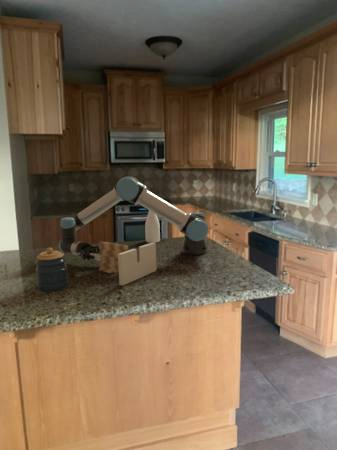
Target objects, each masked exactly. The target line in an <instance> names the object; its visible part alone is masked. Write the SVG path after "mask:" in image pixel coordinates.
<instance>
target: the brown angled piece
mask: <svg viewBox="0 0 337 450" xmlns="http://www.w3.org/2000/svg"><path fill="white" fill-rule="evenodd" d="M98 245H99V251H100V252H99V255H100V256H101V261H99V264H100V266H99V267H98V271H99V272H105V273H108V274H112V273H115V274H116V273H119V265H118V254H119V253H122V252H125V251H128V250H129V246H128V245H126V244H120V243H115V242H114V243H113V242H108V241H104V240H103V241H99V242H98Z"/></svg>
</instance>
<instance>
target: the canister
mask: <svg viewBox="0 0 337 450" xmlns="http://www.w3.org/2000/svg"><path fill="white" fill-rule="evenodd" d="M66 261H67V258H66V257H65V253H64V252H62V251H60V250H55V249H53V247H47V249H46V251H42V252H40V253H38V254H37V255H36V260H35V261H34V264H35V266H36V268H35V273H36V274H35V275H36V286H37V289H38V290H39V291H41V292H45V293H48V292H57V291H61V290H64V289H65V288H67V287H68V286H69V279H68V265H67V263H66Z"/></svg>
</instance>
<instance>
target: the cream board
mask: <svg viewBox="0 0 337 450" xmlns="http://www.w3.org/2000/svg"><path fill="white" fill-rule="evenodd" d="M156 243H157V242H156ZM156 243H153V242H152V243H146V244H144V245H140V246H138V250H137V248H131V249H128V251H125V252H122V253H119V254H118V267H119V272H118V281H119V285H120V286H126V285H127V284H129V283H130V284H131V282H134V281H136V280H139V279H141V278H143V277H145V276H148V275H149V274H150V275H151V274H152V273H154V272H156V271H157V247H156V246H157V245H156ZM137 251H138V252H137ZM138 253H139V255H138ZM138 256H139V261H138Z"/></svg>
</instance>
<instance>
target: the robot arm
mask: <svg viewBox="0 0 337 450" xmlns="http://www.w3.org/2000/svg"><path fill="white" fill-rule="evenodd" d="M121 201H122V202H124V201H128V202H129V203H131V204H132V205H135V206H137V205H140V206H142V207H143V208H145V209H146V210H148V211H149V210H150V211H152V212H153V213H155V214H156V215H157V217H160V218H162V219H163V220H165V221H167V222H168V223H170V224H172V225H174V226H176V227H177V228H178V231H179V232H180V233H181V234H183V235H184V239H183V243H182V245H181V253H183V254H185V255H190V256H191V255H193V256H197V255H203V254H206V253H207V252H208V246H207V243H206V237H207V235H208V233H209V227H208V224H207V222H206V221H205V213H204V212H184V211H183V210H181V209H180V208H178V207H177V206H175V205H173V204H171V203H170V202H168V201H167V200H165V199H163V198H162V197H159V196H158V195H156V194H155V193H153V192H151V191H150V190H149V189H148V188H147V185H145V184H143V182H140V181H139V179H138V178H136V177H135V176H132V175H128V176H127V175H126V176H124V177H122V178H120V179H118V181H117V184H115V186H113V189H112V190H110V191H108V193H106V194H104V195H103V196H102V197H100V198H99V199H97V200H96V201H94V202H93V203H91V204H90V205H89V206H87V207H86V208H84V209H82V210H81V211H80V212H78V213H77V214H75V215H74V216H72V217H71V216H70V217H62V218H61V219H60V233H61V234H60V235H61V239H60V240H59V241H58V245H57V247H58V251H60V252H62V253H64V254H70V255H74V256H77V257H80V258H81V259H83V260H84V261H91V260H93V261H98V262H100V261H101V256H100V251H99V244H97V245H96V246H94V245H91V244H90V243H89V242H85V241H79V240H77V234H76V233H77V231H78V230H80V229H81V228H83V227H84V226H85V225H87V224H88V223H90V222H91V221H93V220H94V219H96V218H97V217H99V216H100V215H102V214H103V213H105V212H107V211H108V210H109V209H110V208H113V207H114V206H115V205H117V204H118V203H120V202H121Z"/></svg>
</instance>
